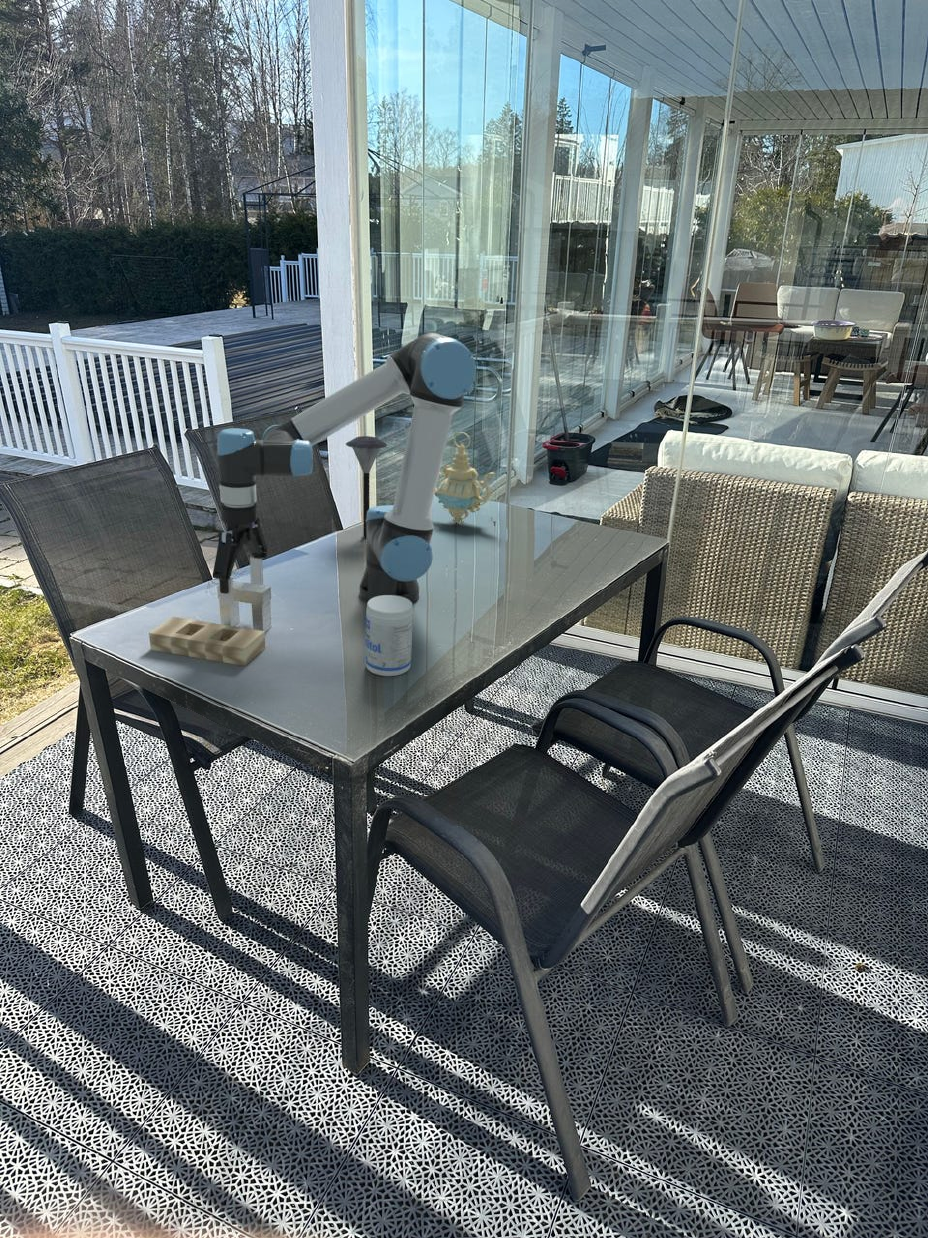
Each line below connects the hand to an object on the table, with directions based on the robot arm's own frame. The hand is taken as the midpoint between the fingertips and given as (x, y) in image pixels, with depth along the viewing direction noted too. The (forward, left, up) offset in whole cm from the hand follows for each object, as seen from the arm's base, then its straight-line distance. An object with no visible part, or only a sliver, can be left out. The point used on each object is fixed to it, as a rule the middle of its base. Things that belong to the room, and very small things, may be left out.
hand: (242, 595), depth 184 cm
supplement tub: (-37, +8, -8) cm, 39 cm away
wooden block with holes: (+2, +13, -8) cm, 15 cm away
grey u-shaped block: (0, 0, -8) cm, 8 cm away
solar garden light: (-2, -72, -8) cm, 73 cm away
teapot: (-25, -95, -8) cm, 99 cm away
